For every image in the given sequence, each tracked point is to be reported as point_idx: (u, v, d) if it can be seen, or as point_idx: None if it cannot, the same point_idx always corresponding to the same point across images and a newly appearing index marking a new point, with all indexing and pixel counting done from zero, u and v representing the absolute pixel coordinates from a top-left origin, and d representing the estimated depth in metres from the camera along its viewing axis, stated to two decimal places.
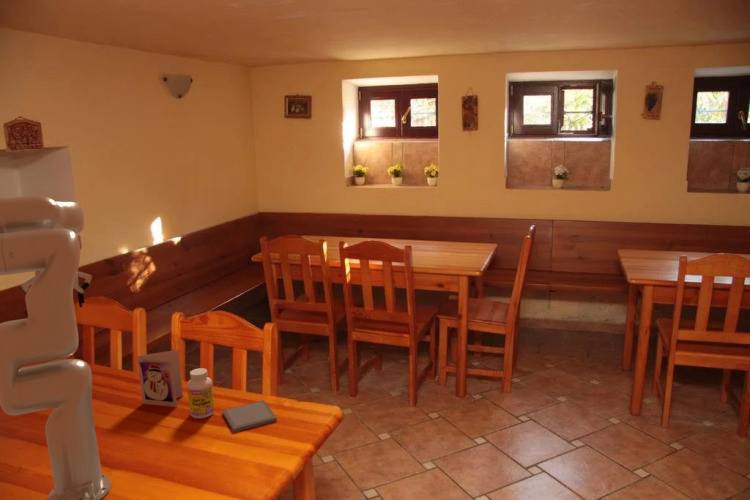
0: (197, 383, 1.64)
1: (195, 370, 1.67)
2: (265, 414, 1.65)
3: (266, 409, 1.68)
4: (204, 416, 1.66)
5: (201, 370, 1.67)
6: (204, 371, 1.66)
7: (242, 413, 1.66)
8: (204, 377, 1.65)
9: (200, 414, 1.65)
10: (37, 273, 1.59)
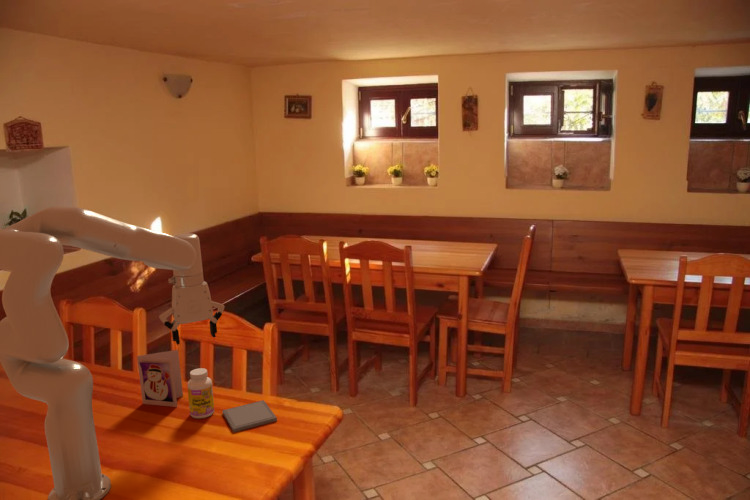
0: (197, 383, 1.64)
1: (195, 370, 1.67)
2: (265, 414, 1.65)
3: (266, 409, 1.68)
4: (204, 416, 1.66)
5: (201, 370, 1.67)
6: (204, 371, 1.66)
7: (242, 413, 1.66)
8: (204, 377, 1.65)
9: (200, 414, 1.65)
10: (176, 304, 1.57)
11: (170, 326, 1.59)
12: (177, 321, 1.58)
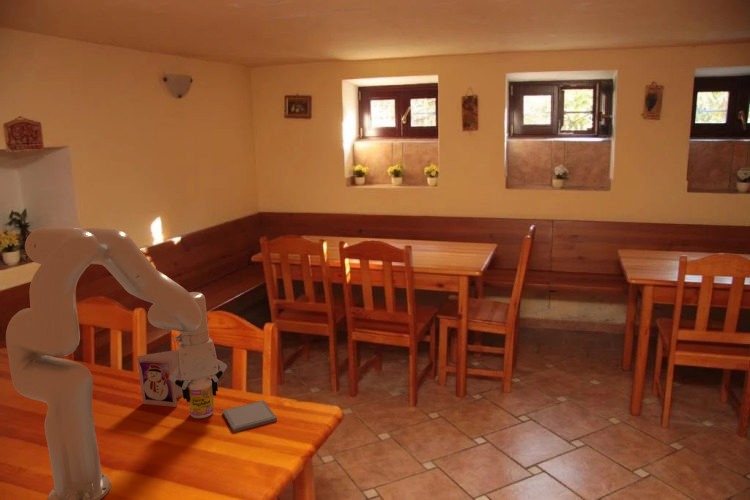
0: (197, 383, 1.64)
1: None
2: (265, 414, 1.65)
3: (266, 409, 1.68)
4: (204, 416, 1.66)
5: None
6: None
7: (242, 413, 1.66)
8: (204, 377, 1.65)
9: (200, 413, 1.65)
10: (182, 362, 1.61)
11: (180, 385, 1.63)
12: (183, 378, 1.62)
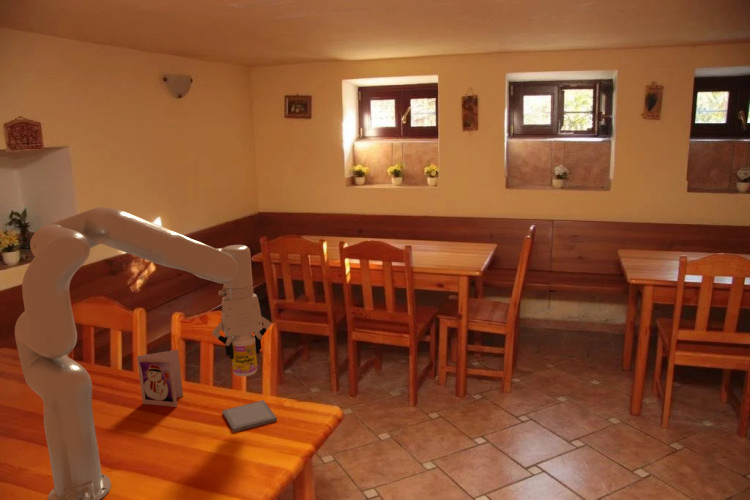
0: (241, 339, 1.58)
1: None
2: (265, 414, 1.65)
3: (266, 409, 1.68)
4: (248, 374, 1.60)
5: None
6: None
7: (242, 413, 1.66)
8: None
9: (243, 371, 1.59)
10: (226, 317, 1.55)
11: (224, 341, 1.58)
12: (227, 334, 1.56)
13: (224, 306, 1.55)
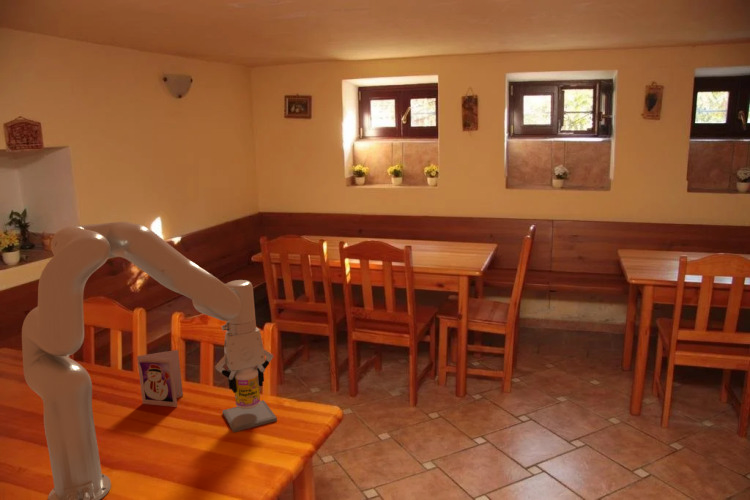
0: (244, 373, 1.60)
1: None
2: (265, 414, 1.65)
3: (266, 409, 1.68)
4: (251, 407, 1.62)
5: None
6: None
7: (242, 413, 1.66)
8: (251, 367, 1.61)
9: (246, 404, 1.61)
10: (229, 352, 1.57)
11: (227, 375, 1.60)
12: (230, 368, 1.58)
13: (227, 341, 1.57)
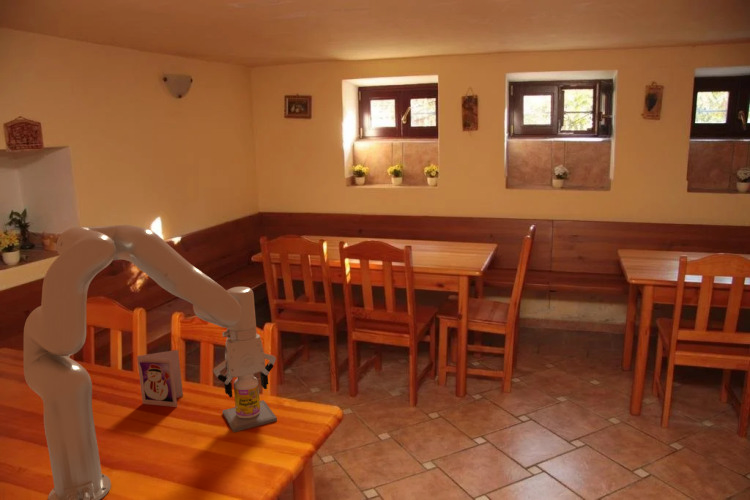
0: (244, 382, 1.61)
1: None
2: (265, 414, 1.65)
3: (266, 409, 1.68)
4: (251, 416, 1.62)
5: None
6: None
7: None
8: (251, 376, 1.62)
9: (246, 414, 1.62)
10: (230, 358, 1.57)
11: (223, 379, 1.59)
12: (231, 375, 1.58)
13: (228, 348, 1.57)
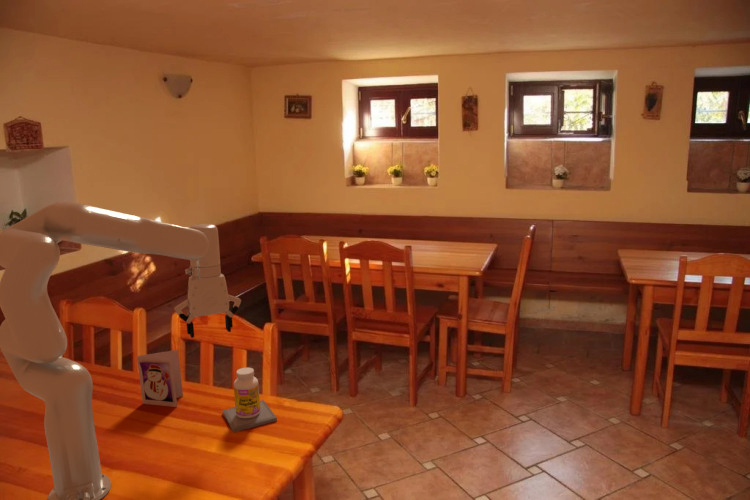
0: (244, 382, 1.61)
1: (241, 369, 1.63)
2: (265, 414, 1.65)
3: (266, 409, 1.68)
4: (251, 416, 1.62)
5: (248, 369, 1.64)
6: (251, 370, 1.63)
7: None
8: (251, 376, 1.62)
9: (246, 414, 1.62)
10: (192, 296, 1.53)
11: (185, 318, 1.55)
12: (192, 313, 1.54)
13: (190, 285, 1.53)
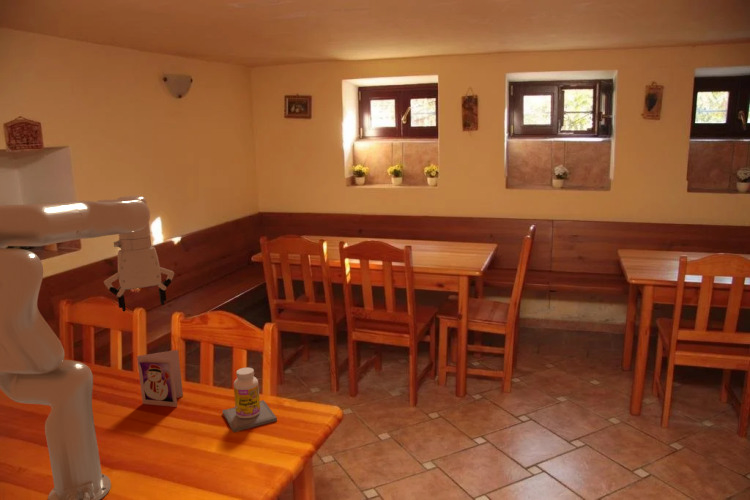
0: (244, 382, 1.61)
1: (241, 369, 1.63)
2: (265, 414, 1.65)
3: (266, 409, 1.68)
4: (251, 416, 1.62)
5: (248, 369, 1.63)
6: (251, 370, 1.63)
7: None
8: (251, 376, 1.62)
9: (246, 414, 1.62)
10: (121, 269, 1.51)
11: (115, 292, 1.53)
12: (122, 286, 1.52)
13: (119, 258, 1.51)
